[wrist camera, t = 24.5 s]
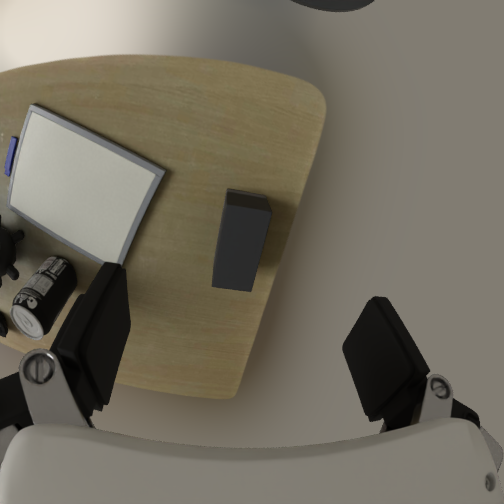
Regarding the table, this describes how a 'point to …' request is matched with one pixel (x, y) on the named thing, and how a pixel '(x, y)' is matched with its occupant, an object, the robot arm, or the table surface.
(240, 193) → the whiteboard eraser
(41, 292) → the beverage can
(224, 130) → the table surface
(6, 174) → the blue bar
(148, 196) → the whiteboard
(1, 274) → the toy ball
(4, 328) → the toy car
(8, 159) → the blue rectangular bar
